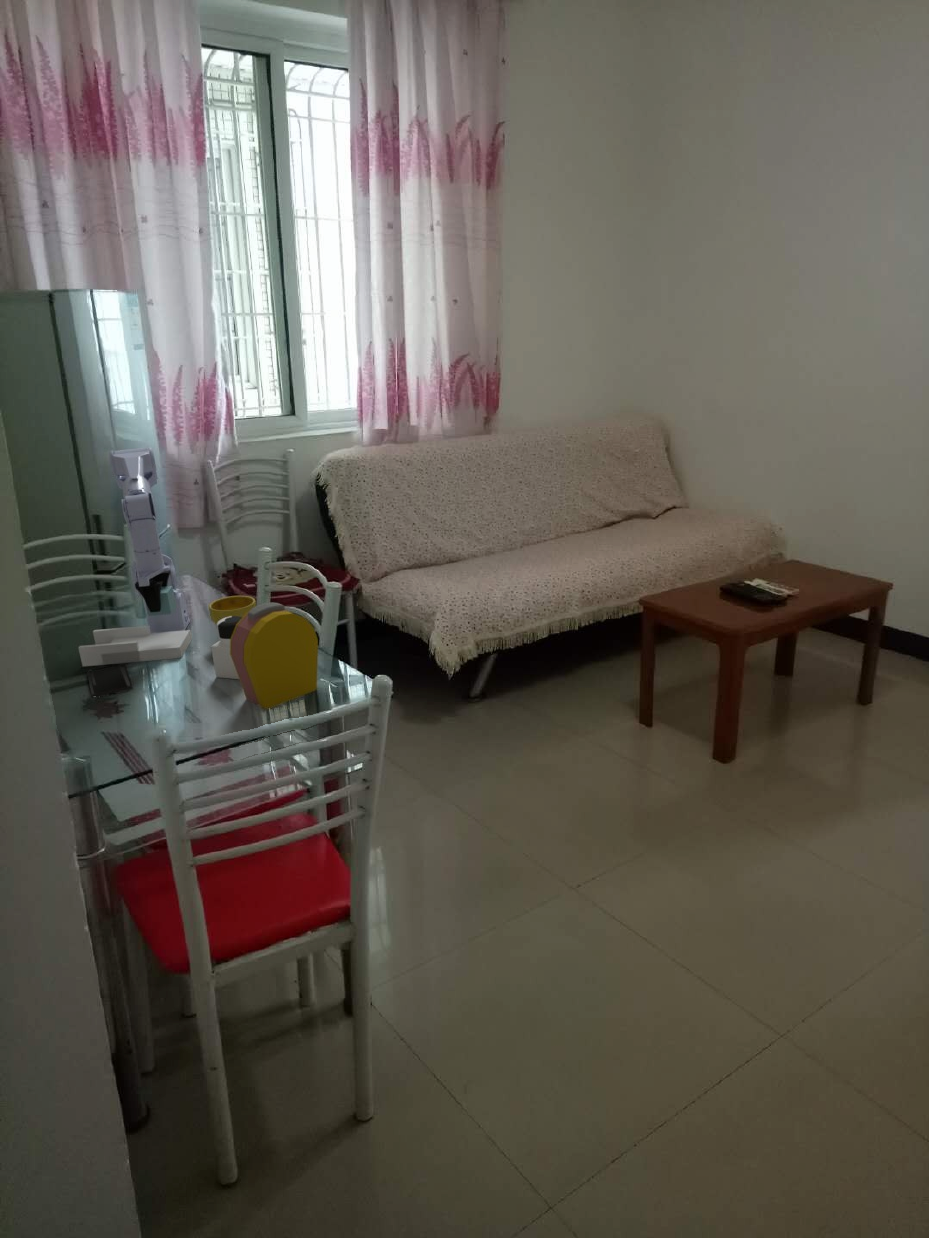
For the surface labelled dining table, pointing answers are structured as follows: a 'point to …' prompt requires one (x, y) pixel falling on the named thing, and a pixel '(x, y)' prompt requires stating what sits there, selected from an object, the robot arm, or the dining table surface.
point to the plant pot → (230, 607)
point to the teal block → (165, 602)
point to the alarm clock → (274, 655)
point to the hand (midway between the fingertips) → (158, 607)
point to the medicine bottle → (225, 648)
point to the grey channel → (133, 646)
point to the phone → (109, 680)
